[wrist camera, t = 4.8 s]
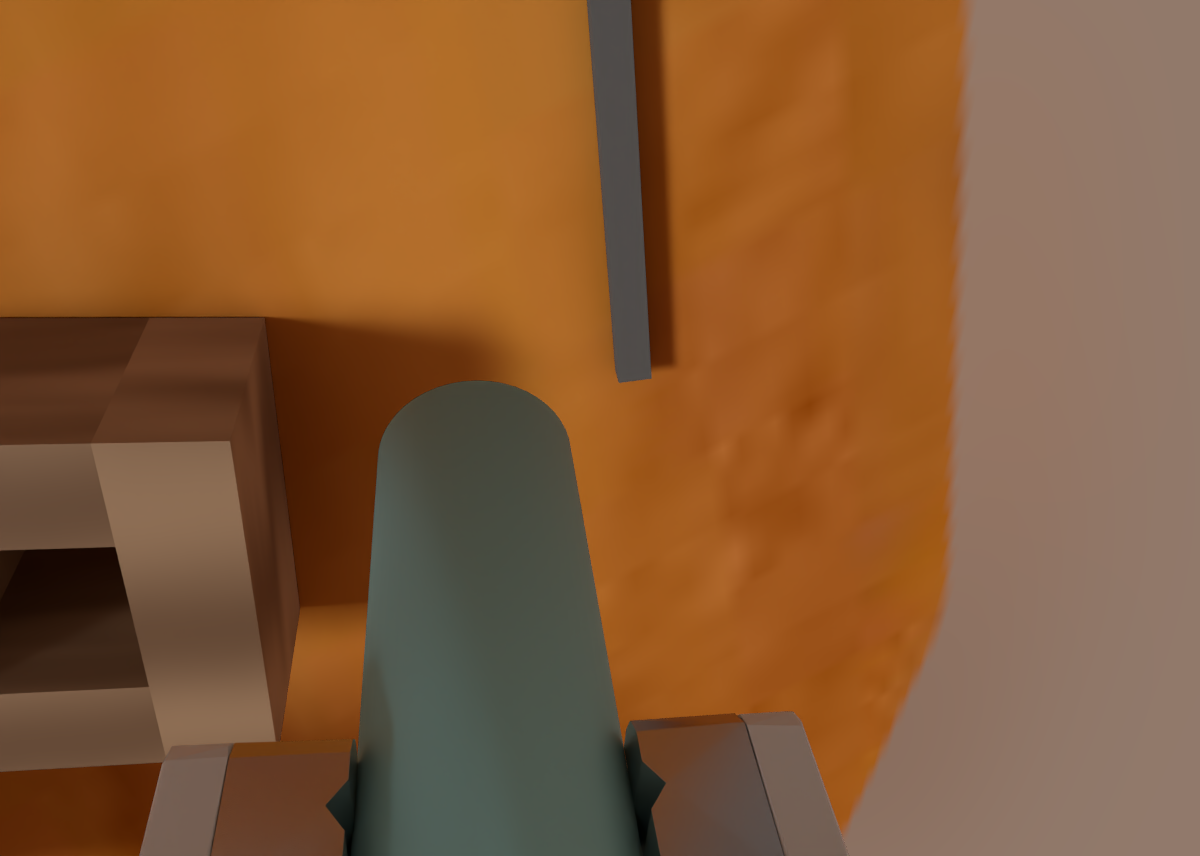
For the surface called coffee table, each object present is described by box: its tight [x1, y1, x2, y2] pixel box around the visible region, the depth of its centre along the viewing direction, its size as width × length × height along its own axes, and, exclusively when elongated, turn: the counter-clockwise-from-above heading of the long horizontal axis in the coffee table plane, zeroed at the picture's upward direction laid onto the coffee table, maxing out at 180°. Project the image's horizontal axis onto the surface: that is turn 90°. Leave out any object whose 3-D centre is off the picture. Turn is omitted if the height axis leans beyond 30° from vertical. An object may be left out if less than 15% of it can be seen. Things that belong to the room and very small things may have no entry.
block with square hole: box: [0, 318, 300, 772], centre depth 24 cm, size 9×9×5 cm
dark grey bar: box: [587, 0, 651, 383], centre depth 22 cm, size 16×1×1 cm, turn 4°
